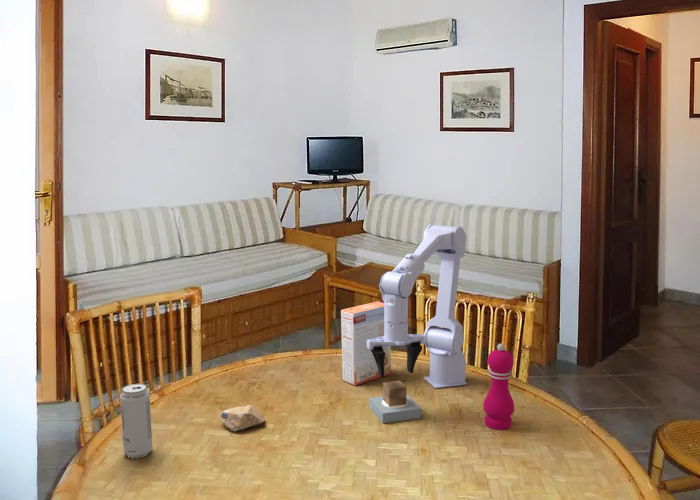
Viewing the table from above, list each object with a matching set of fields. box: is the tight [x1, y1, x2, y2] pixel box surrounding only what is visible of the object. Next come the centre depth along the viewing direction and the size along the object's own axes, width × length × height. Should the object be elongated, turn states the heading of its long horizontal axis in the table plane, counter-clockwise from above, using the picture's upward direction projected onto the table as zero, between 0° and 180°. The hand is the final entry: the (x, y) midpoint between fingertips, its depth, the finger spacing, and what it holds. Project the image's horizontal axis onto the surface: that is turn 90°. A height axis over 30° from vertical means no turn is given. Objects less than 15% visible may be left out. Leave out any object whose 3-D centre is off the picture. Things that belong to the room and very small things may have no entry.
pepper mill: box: [482, 343, 515, 431], centre depth 159 cm, size 7×7×20 cm
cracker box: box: [340, 301, 392, 387], centre depth 190 cm, size 14×6×21 cm, turn 130°
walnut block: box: [382, 380, 408, 407], centre depth 167 cm, size 4×4×4 cm
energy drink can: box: [119, 383, 153, 459], centre depth 146 cm, size 6×6×15 cm
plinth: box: [368, 394, 422, 424], centre depth 168 cm, size 10×10×3 cm
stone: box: [220, 404, 266, 432], centre depth 161 cm, size 8×10×4 cm
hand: (395, 373), depth 167 cm, fingers open, 7 cm apart
